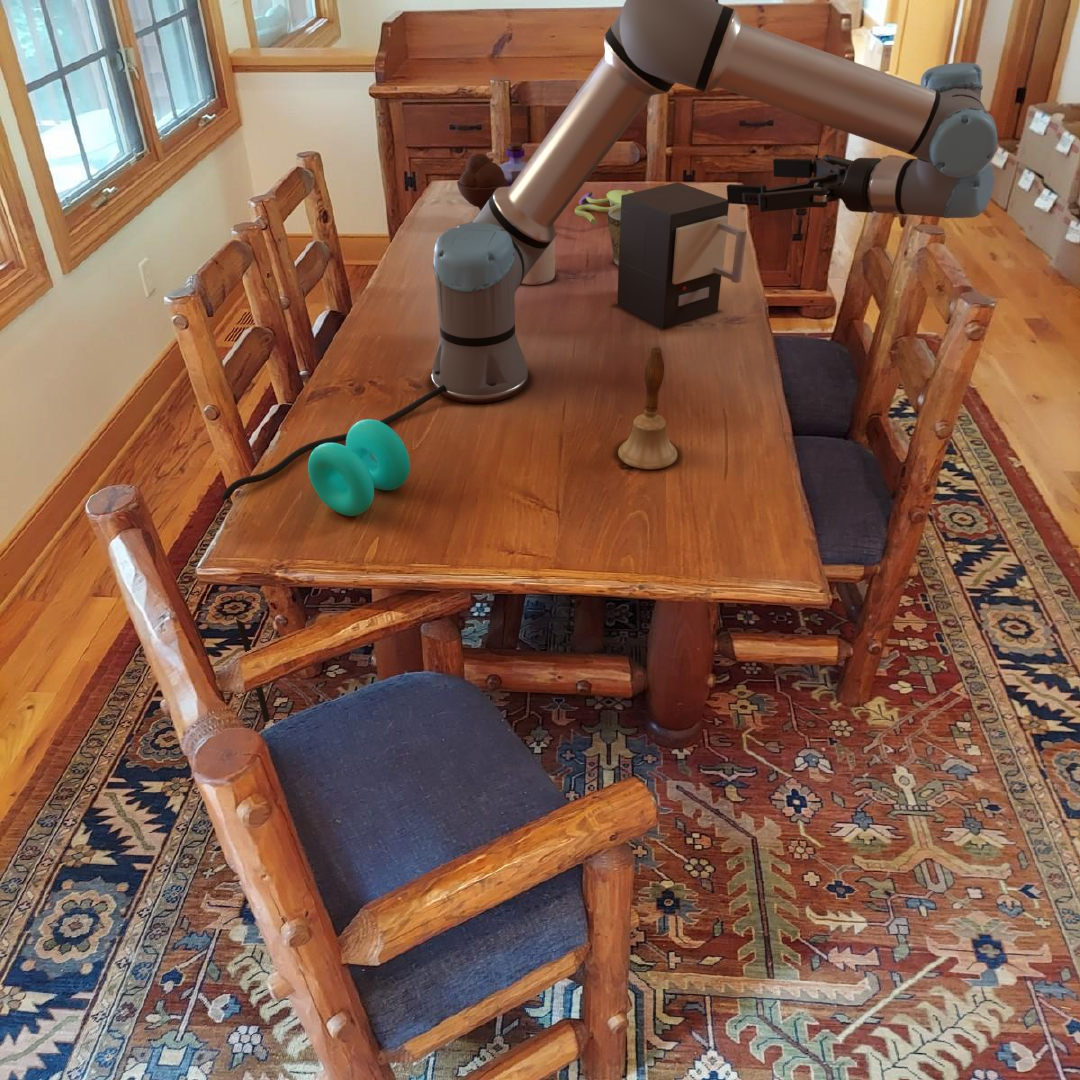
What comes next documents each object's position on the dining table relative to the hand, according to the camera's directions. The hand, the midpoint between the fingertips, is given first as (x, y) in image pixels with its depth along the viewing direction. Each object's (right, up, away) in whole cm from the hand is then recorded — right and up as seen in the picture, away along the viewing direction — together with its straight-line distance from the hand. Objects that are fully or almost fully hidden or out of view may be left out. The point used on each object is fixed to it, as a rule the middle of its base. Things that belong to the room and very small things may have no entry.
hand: (751, 180), depth 153 cm
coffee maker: (-11, -15, +22) cm, 29 cm away
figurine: (-16, +14, +62) cm, 66 cm away
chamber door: (-5, -13, +11) cm, 18 cm away
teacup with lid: (-37, -6, +36) cm, 51 cm away
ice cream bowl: (-46, +13, +61) cm, 77 cm away
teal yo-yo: (-57, -52, -27) cm, 82 cm away
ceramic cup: (-15, -1, +42) cm, 45 cm away
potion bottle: (-39, +25, +78) cm, 91 cm away
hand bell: (-19, -46, -19) cm, 53 cm away
